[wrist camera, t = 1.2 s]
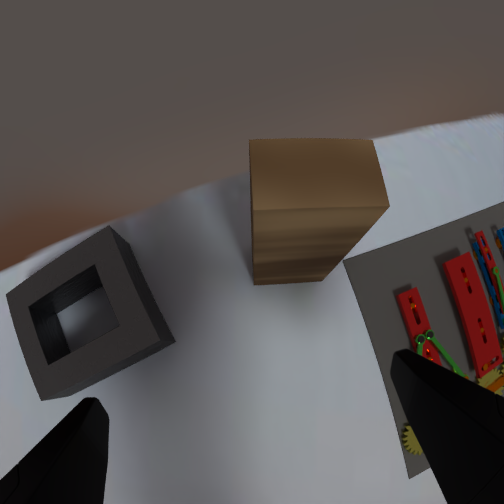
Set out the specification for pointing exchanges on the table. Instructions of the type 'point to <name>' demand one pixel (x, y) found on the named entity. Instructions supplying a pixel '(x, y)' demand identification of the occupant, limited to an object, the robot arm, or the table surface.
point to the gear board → (437, 306)
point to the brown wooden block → (310, 204)
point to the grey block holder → (70, 291)
